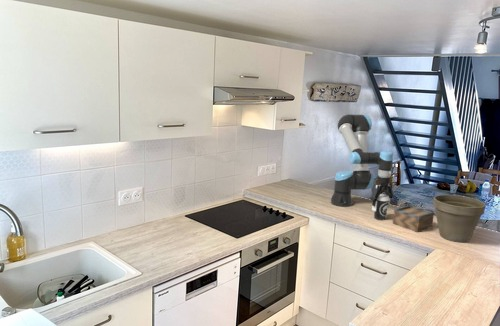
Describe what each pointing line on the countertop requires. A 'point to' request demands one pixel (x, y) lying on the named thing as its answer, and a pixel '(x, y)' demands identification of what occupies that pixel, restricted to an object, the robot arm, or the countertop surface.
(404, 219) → the wooden box
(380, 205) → the coffee cup
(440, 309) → the countertop surface
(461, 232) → the plant pot
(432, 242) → the countertop surface
